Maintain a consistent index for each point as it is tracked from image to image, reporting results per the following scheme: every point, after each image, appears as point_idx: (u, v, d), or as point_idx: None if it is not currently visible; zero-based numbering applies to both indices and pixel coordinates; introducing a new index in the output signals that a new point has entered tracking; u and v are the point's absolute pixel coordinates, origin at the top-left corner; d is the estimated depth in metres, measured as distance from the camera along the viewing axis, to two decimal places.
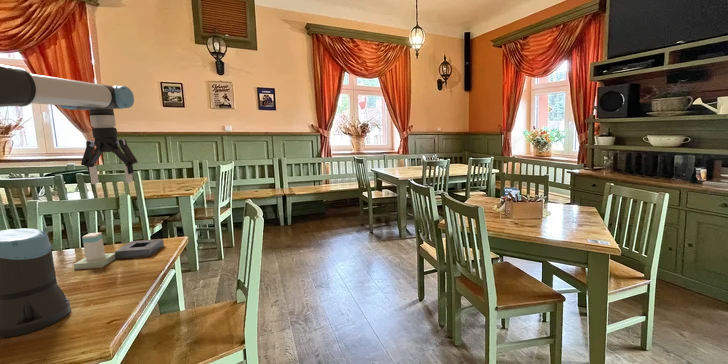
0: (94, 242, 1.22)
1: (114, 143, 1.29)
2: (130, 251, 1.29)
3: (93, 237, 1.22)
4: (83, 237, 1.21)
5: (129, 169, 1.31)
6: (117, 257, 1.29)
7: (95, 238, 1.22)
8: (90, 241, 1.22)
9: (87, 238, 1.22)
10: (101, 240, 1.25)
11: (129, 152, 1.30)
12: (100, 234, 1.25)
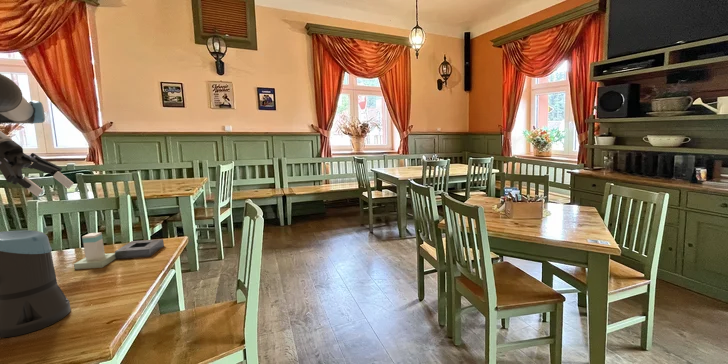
0: (94, 242, 1.22)
1: (29, 156, 1.21)
2: (130, 251, 1.29)
3: (93, 237, 1.22)
4: (83, 237, 1.21)
5: (62, 174, 1.27)
6: (117, 257, 1.29)
7: (95, 238, 1.22)
8: (90, 241, 1.22)
9: (87, 238, 1.22)
10: (101, 240, 1.25)
11: None
12: (100, 234, 1.25)
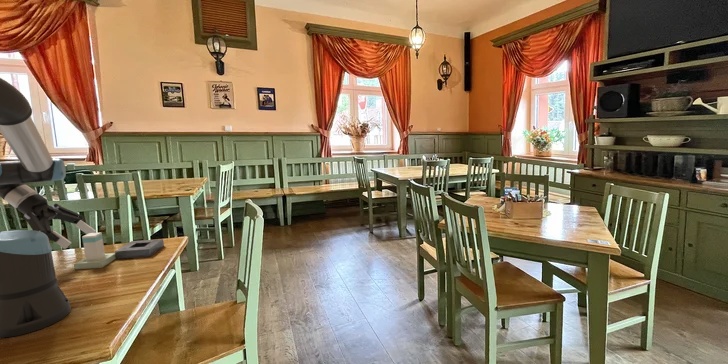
0: (94, 242, 1.22)
1: (53, 207, 1.25)
2: (130, 251, 1.29)
3: (93, 237, 1.22)
4: (83, 237, 1.21)
5: (84, 223, 1.31)
6: (117, 257, 1.29)
7: (95, 238, 1.22)
8: (90, 241, 1.22)
9: (87, 238, 1.22)
10: (101, 240, 1.25)
11: None
12: (100, 234, 1.25)
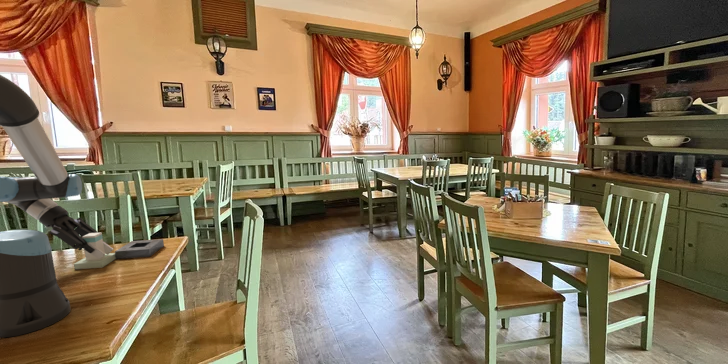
0: (94, 242, 1.22)
1: (73, 219, 1.25)
2: (130, 251, 1.29)
3: (93, 237, 1.22)
4: (83, 237, 1.21)
5: None
6: (117, 257, 1.29)
7: (95, 238, 1.22)
8: (90, 241, 1.22)
9: (87, 238, 1.22)
10: (101, 240, 1.25)
11: None
12: (100, 234, 1.25)
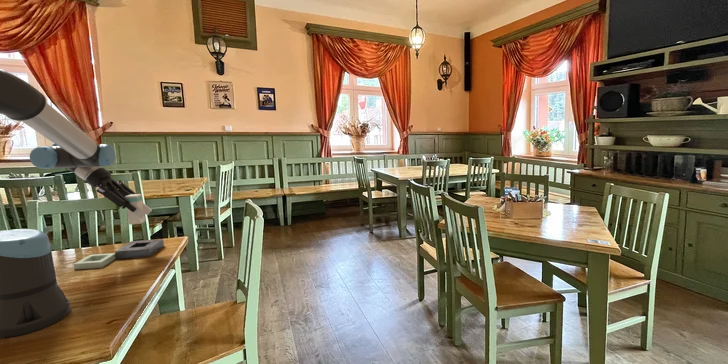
0: (135, 201, 1.31)
1: None
2: (130, 251, 1.29)
3: (135, 197, 1.30)
4: (126, 197, 1.30)
5: None
6: (117, 257, 1.29)
7: (137, 198, 1.31)
8: (132, 201, 1.30)
9: (130, 198, 1.30)
10: (141, 201, 1.34)
11: None
12: (140, 195, 1.34)
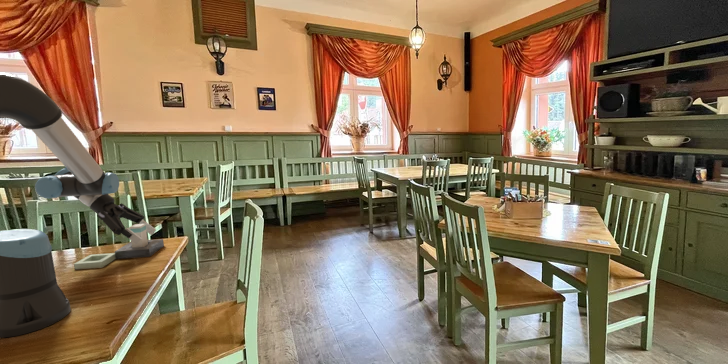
0: (139, 232, 1.33)
1: (119, 206, 1.35)
2: (130, 251, 1.29)
3: (139, 228, 1.32)
4: (130, 228, 1.32)
5: None
6: (117, 257, 1.29)
7: (140, 229, 1.33)
8: (136, 231, 1.32)
9: (134, 228, 1.32)
10: (145, 231, 1.36)
11: None
12: (144, 225, 1.35)
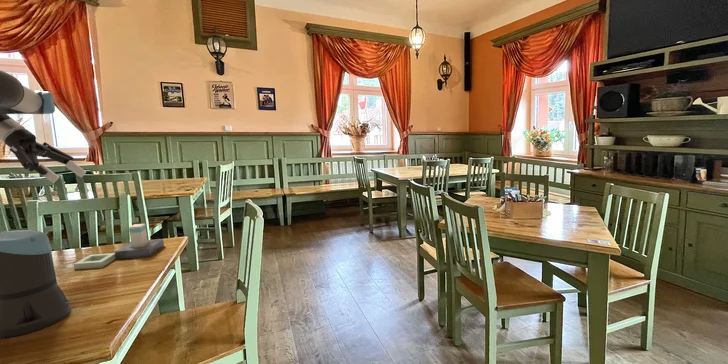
0: (139, 232, 1.33)
1: None
2: (130, 251, 1.29)
3: (139, 228, 1.32)
4: (130, 228, 1.32)
5: (74, 163, 1.28)
6: (117, 257, 1.29)
7: (140, 229, 1.33)
8: (136, 231, 1.32)
9: (133, 228, 1.32)
10: (145, 231, 1.36)
11: None
12: (144, 225, 1.35)
